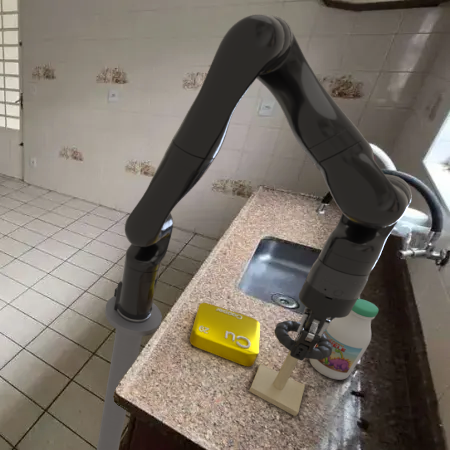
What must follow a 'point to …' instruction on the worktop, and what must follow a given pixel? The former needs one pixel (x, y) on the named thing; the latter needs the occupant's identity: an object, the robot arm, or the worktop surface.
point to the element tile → (226, 334)
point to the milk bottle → (347, 341)
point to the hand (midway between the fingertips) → (297, 352)
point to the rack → (279, 386)
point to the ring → (283, 337)
